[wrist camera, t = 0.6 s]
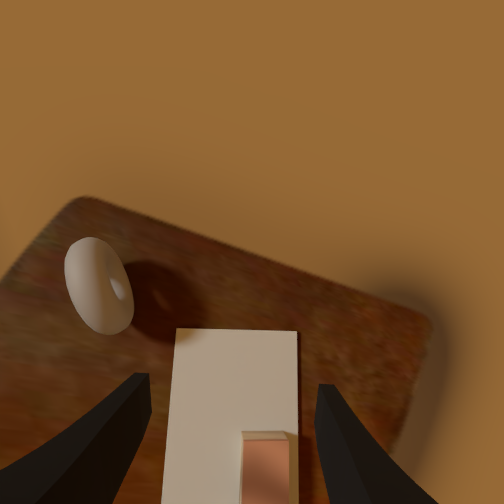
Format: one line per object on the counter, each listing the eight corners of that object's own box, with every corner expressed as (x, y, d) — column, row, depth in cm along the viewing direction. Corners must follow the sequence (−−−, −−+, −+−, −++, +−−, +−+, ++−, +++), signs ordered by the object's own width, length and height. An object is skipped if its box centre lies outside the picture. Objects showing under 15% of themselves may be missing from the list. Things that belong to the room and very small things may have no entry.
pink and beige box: (282, 529, 30) (289, 551, 27) (238, 531, 29) (240, 553, 27) (282, 430, 32) (288, 440, 29) (241, 430, 32) (243, 441, 29)
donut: (92, 256, 35) (45, 230, 25) (122, 247, 36) (87, 218, 26) (115, 338, 33) (73, 343, 23) (146, 327, 34) (117, 327, 24)
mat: (297, 530, 31) (298, 534, 30) (159, 537, 29) (158, 541, 29) (295, 331, 36) (296, 331, 35) (177, 328, 34) (176, 328, 33)
